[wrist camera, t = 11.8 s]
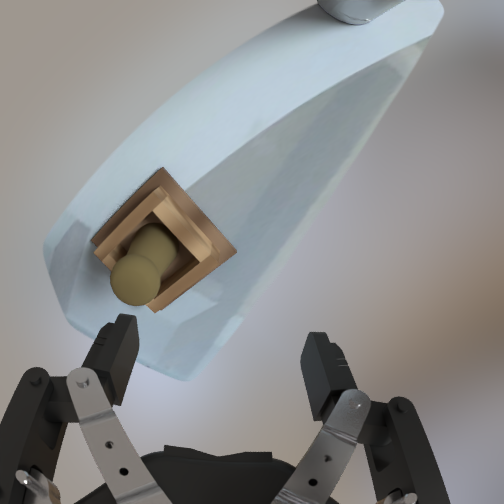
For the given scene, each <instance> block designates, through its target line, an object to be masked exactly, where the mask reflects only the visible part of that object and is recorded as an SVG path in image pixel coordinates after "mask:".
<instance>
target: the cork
mask: <svg viewBox="0 0 504 504" xmlns="http://www.w3.org/2000/svg"><path fill="white" fill-rule="evenodd" d="M178 248H179V244H178V240H177V237H176V236H175V235H174V234H173V233H172V232H171V231H170V230H169V228H168V227H167V226H165V225H163V224H161V223H148V224H146V225H144V226H142V227H141V228H140V229H139V230H138V231H137V232H136V235H135V237H134V239H133V241H132V243H131V246H130V248H129V250H128V253H127V255H126V256H124V257H123V258H121V259H119V260H118V261H117V263H116V264H115V265H114V266H113V268H112V272H111V275H110V284H111V287H112V289H113V292H114V294H115V295H116V296H117V298H119V299H120V300H121V301H122V302H124V303H126V304H128V305H132V306H141V305H145V304H147V303H149V302H151V301H152V300H153V299H154V298H155V297H156V296H157V293H158V291H159V288H160V280H161V279H160V277H161V276H162V275H163V273H164V272H165V271H166V269H167V268H168V267H169V266H170V264H171V263H172V262H173V261H174V259H175V258H176V256H177V254H178Z"/></svg>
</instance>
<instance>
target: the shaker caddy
mask: <svg viewBox="0 0 504 504" xmlns="http://www.w3.org/2000/svg"><path fill="white" fill-rule="evenodd" d="M148 223H161V224H163V225H165V226H167V227H168V228H169V230H170V231H171V232H172V233H173V234H174V235H175V236H176V237H177V240H178V244H179V248H178V254H177V256H176V258H175V259H174V261H173V262H172V263H171V264H170V266H169V267H168V268H167V269H166V271H165V272H164V273H163V275H162V276H161V277H160V279H161V280H160V288H159V291H158V293H157V296H156V297H155V298H154V299H153V300H152V301H151V302H149V303H147V304H145V305H146V306H148V307H149V308H150V309H151V310H152V311H153V312H154V313H156V312H157V311H159V310H163V309H164V308H165V307H166V306H168V305H169V304H170V303H172V302H173V301H174V300H176V299H177V298H178V297H179V296H181V295H182V294H183V293H185V292H186V291H187V290H189V289H190V288H191V287H192V286H194V285H195V284H196V283H198V282H199V281H200V280H202V279H203V278H204V277H206V276H207V275H208V274H209V273H211V272H212V271H213V270H215V269H216V268H217V267H219V266H220V265H221V264H223V263H224V262H225V261H226V260H228V259H229V258H230V257H232V256H233V255H234V254H236V253H237V250H236V249H235V248H234V247H233V246H232V244H231V243H230V242H229V241H228V240H227V239H226V238H225V237H224V235H223V234H222V233H221V232H220V231H219V230H218V229H217V228H216V226H215V225H214V224H213V223H212V222H211V221H210V220H209V219H208V217H207V216H206V215H205V214H204V213H203V212H202V211H201V210H200V208H199V207H198V206H197V205H196V204H195V203H194V202H193V200H192V199H191V198H190V197H189V196H188V195H187V194H186V192H185V191H184V190H183V189H182V188H181V187H180V186H179V185H178V183H177V182H176V181H175V180H174V179H173V178H172V177H171V175H170V174H169V173H168V172H167V171H166V170H165V169H164V167H162V168H161V169H160V170H159V171H158V172H157V173H156V174H155V175H153V176H152V177H151V178H150V179H149V180H148V181H147V182H146V183H145V184H144V185H143V186H142V187H141V188H140V189H139V190H138V191H137V192H136V193H135V194H134V195H133V196H132V197H131V198H130V199H129V200H128V201H127V202H126V203H125V204H124V205H123V206H122V207H121V208H120V209H119V210H118V211H117V212H116V213H115V214H114V216H113V217H112V218H111V219H110V220H109V221H108V222H107V223H106V224H105V225H104V226H103V227H102V229H101V230H100V231H99V232H98V233H97V234H96V235H95V236H94V238H93V239H92V240H91V241H92V242H93V243H94V244H95V245H96V246H97V247H98V248H97V249H96V250H95V251H94V254H95V255H96V256H97V257H98V258H99V259H100V260H101V261H102V262H103V263H104V264H105V265H106V266H107V267H108V268H109V270H110V271H111V272H112V268H113V266H114V265H115V264H116V263H117V261H118V260H119V259H121V258H123V257H124V256H126V255H127V253H128V250H129V248H130V246H131V243H132V241H133V239H134V237H135V235H136V232H137V231H138V230H139V229H140V228H141V227H142V226H144V225H146V224H148Z"/></svg>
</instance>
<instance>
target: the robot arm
mask: <svg viewBox="0 0 504 504" xmlns="http://www.w3.org/2000/svg"><path fill="white" fill-rule="evenodd" d="M317 1H318V3H319V5H320V6H321V7H322V8H323V9H324V10H325V11H326V12H327V13H328V14H330V15H331V16H333V17H334V18H336V19H338V20H340V21H342V22H346V23H349V24H355V25H362V24H366V23H369V22H371V21H372V20H374V19H375V18H377V17H378V16H380V15H382V14H383V13H385V12H387V11H388V10H390V9H391V8H393V7H395V6H396V5H398V4H400V3H401V2H403V1H405V0H317ZM138 351H139V334H138V327H137V319H136V316H134V315H127V314H121V313H120V314H119V315H118V317H117V319H116V321H115V323H110V322H109V323H107V324H106V325H105V326H104V327H102V328H101V330H100V331H99V333H98V335H97V338H96V339H95V341H94V344H93V345H92V347H91V349H90V351H89V352H88V355H87V356H86V359H85V361H84V362H83V365H82V366H81V368H77V369H74V370H73V371H71V372H70V373H69V375H68V376H64V377H50V376H49V374H48V372H47V371H46V370H45V369H43V368H40V367H34V368H31V369H29V370H27V371H26V372H25V373H24V374H23V376H22V378H21V380H20V382H19V384H18V386H17V388H16V390H15V392H14V394H13V397H12V399H11V401H10V403H9V405H8V407H7V410H6V412H5V414H4V417H3V419H2V421H1V424H0V504H61V502H60V492H59V490H58V488H57V486H56V485H55V484H54V483H53V482H52V481H53V477H54V473H55V469H56V464H57V460H58V457H59V452H60V449H61V445H62V441H63V438H64V435H65V431H66V428H67V425H68V422H70V423H71V422H72V423H73V422H75V423H79V425H80V428H81V430H82V433H83V435H84V438H85V440H86V442H87V445H88V447H89V449H90V451H91V453H92V456H93V457H94V460H95V462H96V464H97V466H98V468H99V470H100V472H101V474H102V476H103V478H104V480H105V483H104V484H102V485H101V486H100V487H98V488H97V489H95V490H94V491H93V492H91V493H89V494H88V495H86V496H85V497H83V498H82V499H80V500H79V501H77V502H76V503H74V504H339V503H338V502H337V501H335V500H334V499H333V498H331V497H330V495H331V493H332V491H333V490H334V488H335V486H336V484H337V483H338V481H339V479H340V477H341V475H342V473H343V472H344V470H345V468H346V466H347V464H348V462H349V460H350V458H351V456H352V454H353V452H354V450H355V448H356V445H357V443H361V444H364V448H365V452H366V456H367V460H368V464H369V468H370V472H371V476H372V480H373V485H374V490H375V494H376V499H377V503H376V504H450V500H449V497H448V494H447V491H446V488H445V485H444V482H443V479H442V476H441V473H440V470H439V468H438V465H437V462H436V460H435V457H434V454H433V451H432V449H431V446H430V443H429V441H428V438H427V436H426V433H425V431H424V428H423V426H422V424H421V421H420V419H419V416H418V414H417V412H416V409H415V407H414V405H413V404H412V402H411V401H409V400H408V399H406V398H404V397H394V398H392V399H391V400H390V401H389V403H382V402H375V401H371V400H370V398H369V396H368V395H367V394H366V393H364V392H363V391H361V390H358V388H357V386H356V383H355V381H354V378H353V376H352V373H351V371H350V368H349V366H348V363H347V361H346V360H345V356H344V354H343V352H342V350H341V349H340V347H339V346H337V344H336V343H330V341H329V339H328V336H327V334H326V333H325V332H310V333H309V334H308V337H307V340H306V343H305V346H304V349H303V352H302V355H301V361H300V363H301V370H302V374H303V378H304V382H305V386H306V390H307V394H308V398H309V402H310V406H311V411H312V415H313V420H314V421H322V422H323V427H322V428H321V430H320V432H319V433H318V435H317V436H316V438H315V440H314V441H313V443H312V444H311V446H310V447H309V449H308V450H307V452H306V453H305V455H304V456H303V458H302V459H301V460H300V462H299V463H298V465H297V466H296V468H295V467H294V466H292V465H290V464H289V463H287V462H284V461H282V460H278V459H274V458H272V452H243V453H237V454H232V455H226V456H214V455H210V454H207V453H203V452H201V451H197V450H194V449H191V448H183V447H176V446H169V445H164V451H159V452H153V453H150V454H147V455H144V456H142V457H139V456H138V454H137V452H136V450H135V449H134V447H133V445H132V444H131V442H130V440H129V438H128V436H127V435H126V433H125V431H124V429H123V427H122V425H121V424H120V422H119V420H118V418H117V416H116V414H115V412H114V411H113V409H112V407H113V404H114V405H118V406H121V404H122V401H123V397H124V394H125V391H126V387H127V385H128V381H129V378H130V375H131V372H132V369H133V366H134V363H135V360H136V357H137V355H138Z"/></svg>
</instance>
